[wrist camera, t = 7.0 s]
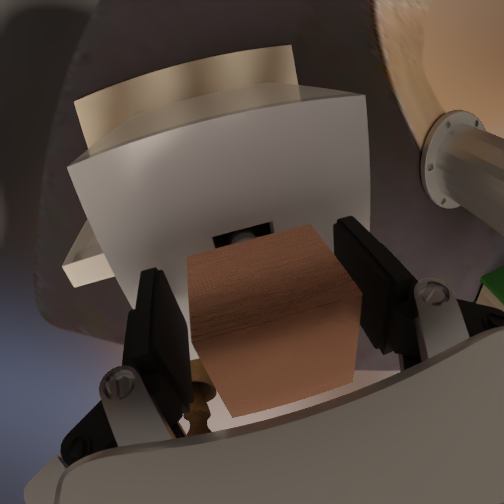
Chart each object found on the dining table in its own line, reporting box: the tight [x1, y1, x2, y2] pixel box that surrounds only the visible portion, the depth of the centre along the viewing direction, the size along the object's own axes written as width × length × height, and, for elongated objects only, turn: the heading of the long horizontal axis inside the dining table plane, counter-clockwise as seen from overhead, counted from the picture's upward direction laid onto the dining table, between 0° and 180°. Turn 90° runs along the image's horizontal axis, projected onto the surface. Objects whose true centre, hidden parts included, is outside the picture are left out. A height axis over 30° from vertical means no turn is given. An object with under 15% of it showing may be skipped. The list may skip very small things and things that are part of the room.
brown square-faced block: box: [186, 224, 362, 418], centre depth 15 cm, size 8×8×19 cm
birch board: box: [74, 45, 298, 149], centre depth 25 cm, size 18×16×1 cm
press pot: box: [62, 82, 370, 360], centre depth 18 cm, size 15×11×15 cm
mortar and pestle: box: [184, 358, 216, 436], centre depth 27 cm, size 7×6×18 cm
